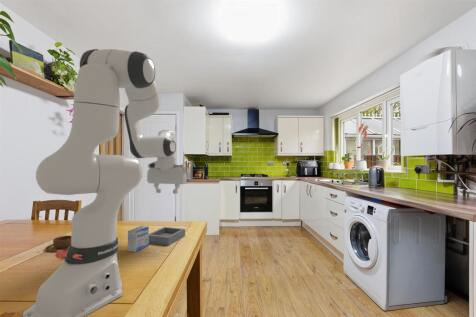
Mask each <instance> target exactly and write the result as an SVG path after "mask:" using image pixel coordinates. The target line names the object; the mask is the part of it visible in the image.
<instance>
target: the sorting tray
mask: <svg viewBox="0 0 476 317" xmlns="http://www.w3.org/2000/svg"><path fill="white" fill-rule="evenodd" d="M185 237H186V229H185V228H181V227H179V228H178V227H170V226H164V227H161V228H159V229H157V230H154V231H153V232H150V233H149V244H155V245H163V246H168V247H169V246H171V245H172V244H174V243H176V242H177V241H179V240H180V239H182V238H185Z"/></svg>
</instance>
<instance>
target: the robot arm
mask: <svg viewBox="0 0 476 317" xmlns="http://www.w3.org/2000/svg"><path fill="white" fill-rule="evenodd" d="M77 72H78V73H77V76H76V81H75V85H74V92H73V93H74V94H73V108H72V109H73V110H72V112H73V113H72V122H71V129H70V132H69V135H68V137H67V139H66V140H65V142H64V144H62V146H60V147H59V148H58V149H57V150H56V151H55V152H53V153H52V154H50V155H48V156H47V157H45V158H44V159H42V161H41V162H40V163H39V164H38V166H37V169H36V171H35V180H36V184H37V185H38V188H39V187H40V189H41V190H42V191H43V192H44V193H46V194H51V195H63V196H64V195H65V196H69V195H70V196H71V195H85V194H96V197H95V198H94V200H92V202H90V204H87V205H85V206H83V207H82V208H80V209H79V210H78V211H76V212H75V213H74V214H73V216H72V217H71V232H70V234H71V235H70V236H71V244H70V246H69V247H67V248H68V250H67V251H65V250H64V251H63V250H62V249H57V250H58V251H57V252H54V257H55V258H58V259H61V260H62V259H63V262H62V264H60V265H59V267H58V268H57V269H55V271H54V272H52V273H51V275H50V276H49V277H48V278H47V279H46V280H45V281H44V282H43V283H42V284H41V285H40V286H39V288H38V291H37V294H36V297H35V303H34V304H33V305H31V306H30V307H28V308H26V309H25V310H24V311H23V313H22V317H86V316H87V315H89V314H91V313H94V312H95V311H97V310H99V309H100V308H103V307H105V306H106V305H108V304H110V303H112V302H113V301H115V300H116V299H118V298H121V297H122V296H123V289H122V288H123V281H122V279H121V278H122V277H121V274H120V269H119V261H118V260H119V259H118V253H117V252H118V251H119V238H118V236H117V227H118V216H119V210H120V207H121V205H122V203H123V202H124V199H125V198H126V197H127V195H128V194H129V193H130V192H131V191H132V190H133V189H134V188H136V187H137V186H138V185H139V184H140V182H141V180H142V178H143V167H142V165H141V163H140V161H139V160H138V159H147V158H148V159H149V158H152V159H153V158H157V159H156V161H153V162H151V163H150V162H149V163H148V164H147V168H148V170H147V173H146V178H147V180H146V181H147V183H148V184H153V187H154V188H155V193H156V194H160V193H161V191H162V189H161V188H160V185H163V184H165V185H166V184H167V185H168V184H169V185H174V187H175V188H174V189H172V194H175V195H176V194H178V192H179V191H178V190H179V188H180V187H181V186H180V185H185V184H186V183H187V180H188V178H187V168H186V166H185V165H184V164H178V163H177V156H176V152H177V140H176V135H175V132H174V131H172V130H167V129H166V130H165V129H162V130H160V131H158V134H157V135H143V134H141V133H142V132H141V128H140V121H141V120H144V119H146V118H149V117H151V116H152V115H154V114H155V113H156V112H158V110H159V109H160V105H161V99H160V97H161V96H160V94H159V93H160V92H159V90H158V86H157V83H156V81H155V80H156V68H155V63H154V62H153V60H152V58H150V56H148V54H146V53H144V52H140V51H129V50H123V49H122V50H121V49H116V48H107V49H106V48H105V49H103V48H102V49H100V48H99V49H98V48H95V49H94V48H93V49H89V50H86V51H84V52H83V53H82V55H81V57H80V60H79V69H78V71H77ZM120 89H124V91H125V94H126V96H127V99H128V104H127V105H126V106H125V108H124V120H125V125H126V126H125V127H126V130H127V135H128V140H129V150H130V154H132V156H127V155H122V154H96V153H95V152H96V149H97V147H98V146H100V145H102V144H104V143H107V142H110V141H112V140H113V139H115V138H116V136H117V135H118V134H119V130H120V112H121V111H120V107H121V106H120V105H121V104H120V103H121V102H120V101H121V98H120ZM133 156H134V157H133Z"/></svg>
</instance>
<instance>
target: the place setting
mask: <svg viewBox="0 0 476 317" xmlns="http://www.w3.org/2000/svg"><path fill="white" fill-rule="evenodd" d="M70 244H71V235H63V236H58V237H54V238H53V240H52V244H49V245H47V246H46V247H45V252H47V253H57V251H58V250H63V251H64V250H65V251H68V248H69V246H70ZM52 246H53V248H56V249H53V250H52V249H51V248H52ZM36 253H37V254H38V253H39V251H37V252H36Z"/></svg>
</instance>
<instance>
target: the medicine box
mask: <svg viewBox="0 0 476 317" xmlns="http://www.w3.org/2000/svg"><path fill="white" fill-rule="evenodd" d="M149 232H150V229H149V226H146V225H140V226H138V227H135V228H133V229H130V230H129V229H128V230H127V251H128V252H134V253H138V252H139V251H142V250H143V249H145V248H147V247H149V246H150V243H149V234H150V233H149Z"/></svg>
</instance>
